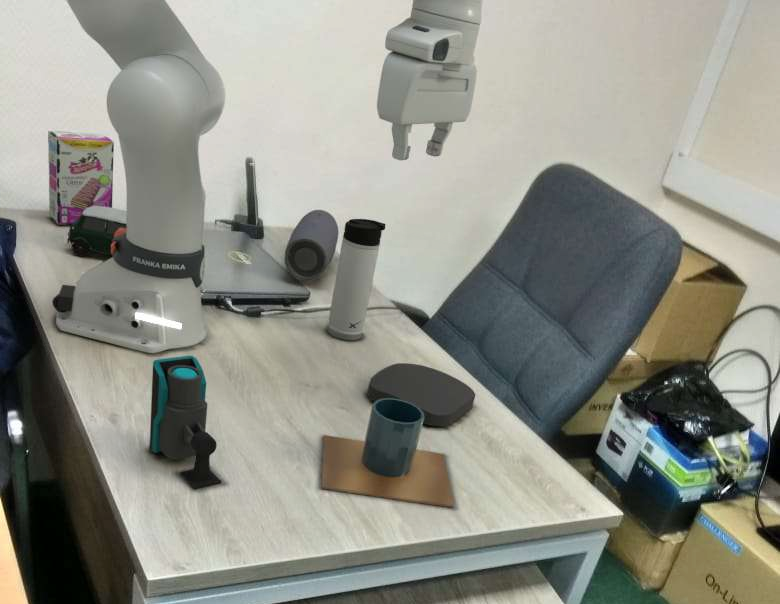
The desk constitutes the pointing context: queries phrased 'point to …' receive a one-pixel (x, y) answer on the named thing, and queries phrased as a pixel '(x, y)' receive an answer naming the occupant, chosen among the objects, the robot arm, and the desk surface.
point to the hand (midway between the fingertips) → (416, 157)
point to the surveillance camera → (182, 417)
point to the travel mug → (354, 278)
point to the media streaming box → (424, 391)
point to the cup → (392, 437)
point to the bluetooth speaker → (312, 245)
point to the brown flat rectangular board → (352, 476)
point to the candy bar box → (78, 174)
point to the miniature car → (96, 229)
